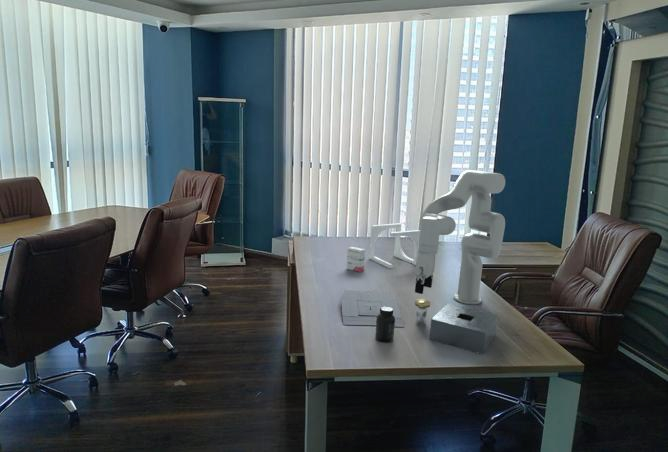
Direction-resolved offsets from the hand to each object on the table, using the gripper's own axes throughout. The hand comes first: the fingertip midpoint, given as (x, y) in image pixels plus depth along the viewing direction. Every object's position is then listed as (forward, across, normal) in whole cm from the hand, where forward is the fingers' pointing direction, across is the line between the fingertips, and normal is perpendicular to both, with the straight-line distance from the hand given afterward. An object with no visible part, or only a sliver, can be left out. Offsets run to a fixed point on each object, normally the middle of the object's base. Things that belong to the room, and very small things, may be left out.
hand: (423, 289), depth 197 cm
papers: (+15, +1, -22) cm, 27 cm away
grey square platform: (+14, +1, +18) cm, 23 cm away
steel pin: (+14, -1, 0) cm, 15 cm away
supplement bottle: (+15, +21, -6) cm, 27 cm away
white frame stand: (+13, -76, -45) cm, 89 cm away
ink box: (+14, -48, -55) cm, 74 cm away
